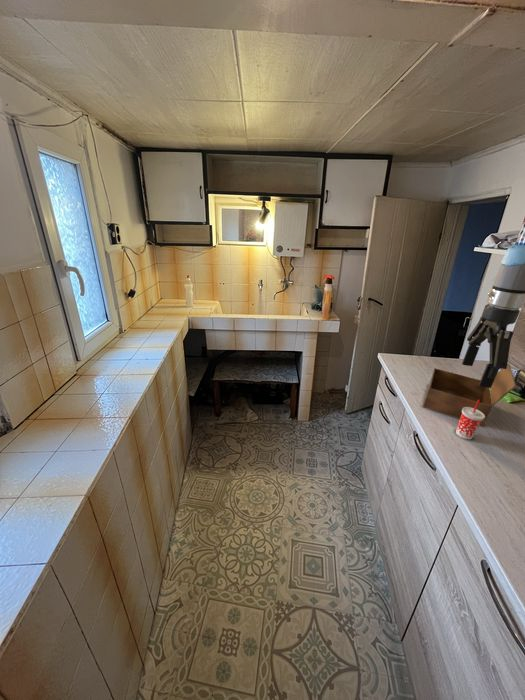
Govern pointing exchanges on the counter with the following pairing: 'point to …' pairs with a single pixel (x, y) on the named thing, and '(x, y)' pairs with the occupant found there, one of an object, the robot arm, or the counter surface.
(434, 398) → the brown open-topped box
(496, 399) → the flap
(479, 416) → the beverage cup
